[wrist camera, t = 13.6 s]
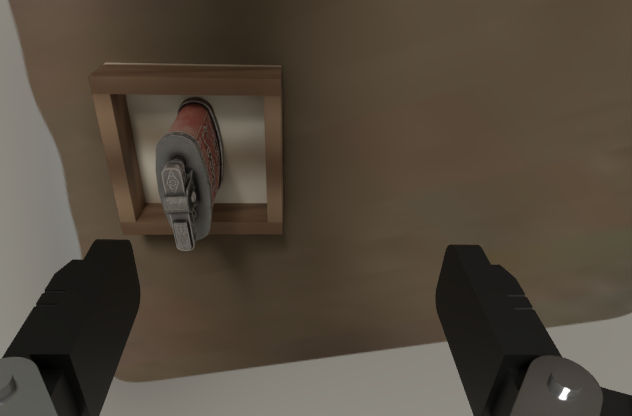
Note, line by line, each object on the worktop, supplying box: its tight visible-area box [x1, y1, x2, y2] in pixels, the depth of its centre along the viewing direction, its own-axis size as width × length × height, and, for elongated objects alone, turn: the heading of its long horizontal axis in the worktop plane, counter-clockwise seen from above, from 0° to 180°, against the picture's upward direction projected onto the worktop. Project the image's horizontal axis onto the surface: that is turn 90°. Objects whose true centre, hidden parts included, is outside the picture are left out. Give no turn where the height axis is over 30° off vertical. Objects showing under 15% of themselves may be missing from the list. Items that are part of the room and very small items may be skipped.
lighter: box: [156, 97, 224, 251], centre depth 34 cm, size 8×3×10 cm, turn 1°
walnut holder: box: [88, 63, 283, 235], centre depth 37 cm, size 13×13×4 cm
